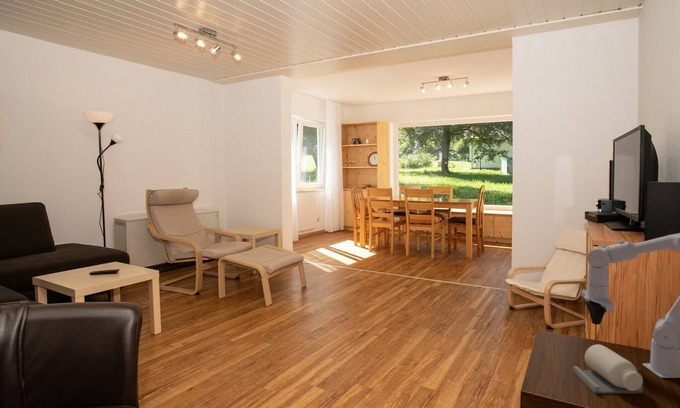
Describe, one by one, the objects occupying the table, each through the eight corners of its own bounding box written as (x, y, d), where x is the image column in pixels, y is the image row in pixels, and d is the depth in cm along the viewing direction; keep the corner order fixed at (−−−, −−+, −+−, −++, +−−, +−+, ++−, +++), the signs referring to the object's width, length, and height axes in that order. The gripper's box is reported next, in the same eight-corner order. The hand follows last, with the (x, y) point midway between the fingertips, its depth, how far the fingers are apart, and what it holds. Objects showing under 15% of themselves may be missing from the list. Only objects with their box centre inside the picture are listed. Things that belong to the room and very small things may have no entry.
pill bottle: (601, 371, 128) (640, 399, 113) (579, 363, 127) (615, 390, 112) (612, 348, 127) (652, 373, 113) (590, 340, 126) (628, 364, 112)
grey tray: (616, 371, 126) (616, 365, 126) (642, 393, 115) (642, 386, 115) (572, 372, 127) (573, 366, 126) (594, 393, 115) (595, 386, 115)
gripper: (573, 277, 143) (572, 315, 144) (598, 291, 128) (596, 333, 130) (594, 277, 143) (592, 315, 144) (621, 290, 128) (619, 332, 130)
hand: (596, 323), depth 137 cm, fingers closed
